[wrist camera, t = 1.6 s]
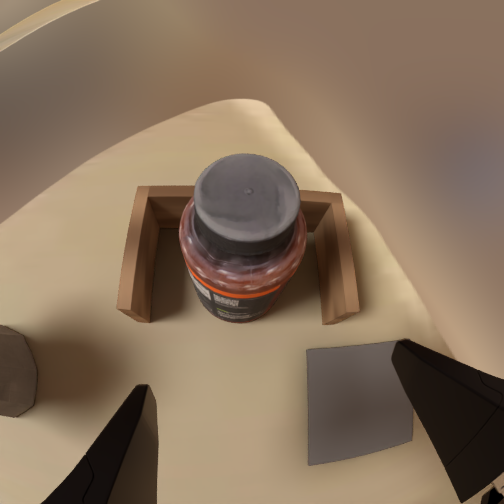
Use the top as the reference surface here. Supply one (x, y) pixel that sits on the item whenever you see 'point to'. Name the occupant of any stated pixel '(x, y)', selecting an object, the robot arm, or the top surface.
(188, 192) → the crate
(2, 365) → the coffeepot
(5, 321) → the top surface
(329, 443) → the mat
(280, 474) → the top surface
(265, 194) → the supplement bottle
